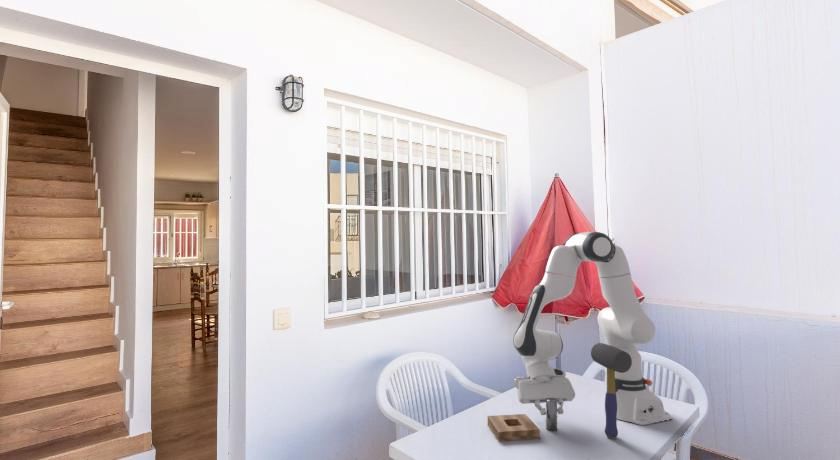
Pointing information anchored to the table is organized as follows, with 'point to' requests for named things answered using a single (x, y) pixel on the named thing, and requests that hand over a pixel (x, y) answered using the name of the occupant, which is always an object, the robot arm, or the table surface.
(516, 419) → the hole plate
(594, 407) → the table surface
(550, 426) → the pin
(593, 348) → the rubber mallet
